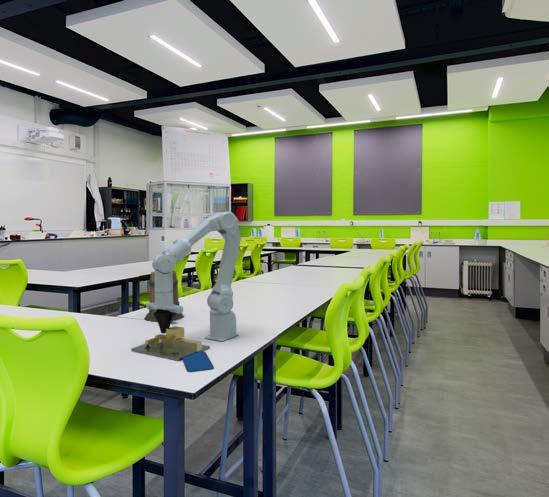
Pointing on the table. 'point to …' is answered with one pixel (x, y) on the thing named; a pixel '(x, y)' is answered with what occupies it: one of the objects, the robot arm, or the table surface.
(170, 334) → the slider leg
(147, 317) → the tankard
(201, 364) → the smartphone
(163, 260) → the robot arm
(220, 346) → the table surface
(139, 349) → the base
